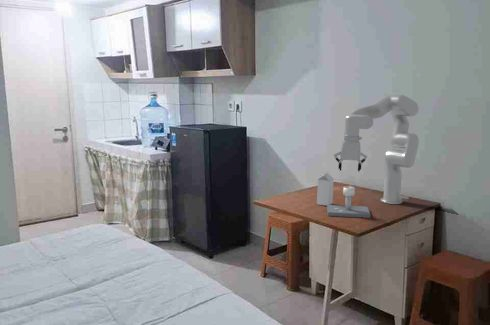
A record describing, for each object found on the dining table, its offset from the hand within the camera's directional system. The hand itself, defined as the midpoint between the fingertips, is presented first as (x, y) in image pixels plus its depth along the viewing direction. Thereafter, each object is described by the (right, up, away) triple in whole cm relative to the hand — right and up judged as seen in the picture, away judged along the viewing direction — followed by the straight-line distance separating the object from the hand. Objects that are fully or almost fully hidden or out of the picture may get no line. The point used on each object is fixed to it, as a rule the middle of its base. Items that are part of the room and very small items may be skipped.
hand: (349, 170), depth 230 cm
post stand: (0, -23, +4) cm, 24 cm away
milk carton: (-9, -20, +22) cm, 31 cm away
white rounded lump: (0, -13, +3) cm, 13 cm away
